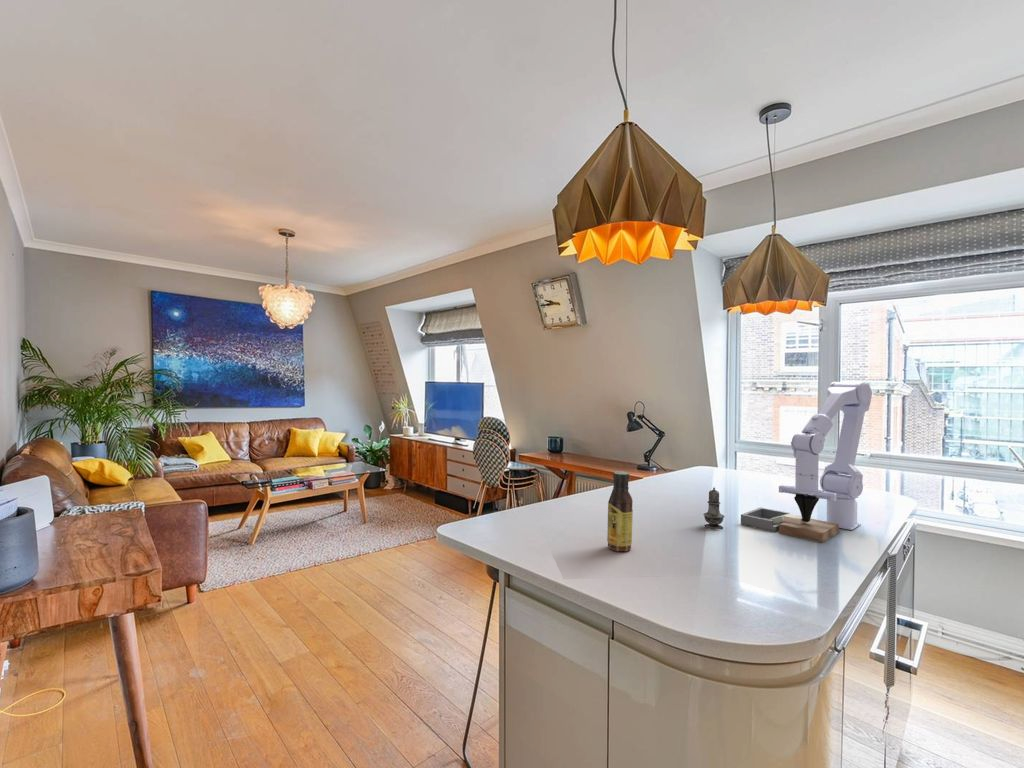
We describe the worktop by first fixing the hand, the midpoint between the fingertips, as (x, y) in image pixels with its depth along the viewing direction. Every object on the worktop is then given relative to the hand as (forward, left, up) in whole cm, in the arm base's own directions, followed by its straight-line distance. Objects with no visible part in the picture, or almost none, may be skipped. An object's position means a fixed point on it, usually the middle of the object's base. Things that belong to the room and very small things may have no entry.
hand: (806, 521), depth 143 cm
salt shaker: (+16, -20, -3) cm, 26 cm away
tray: (0, -11, -3) cm, 11 cm away
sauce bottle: (+54, -26, -3) cm, 60 cm away
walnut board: (0, +1, -3) cm, 3 cm away
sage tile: (0, -7, -2) cm, 8 cm away
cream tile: (0, -3, -1) cm, 3 cm away
